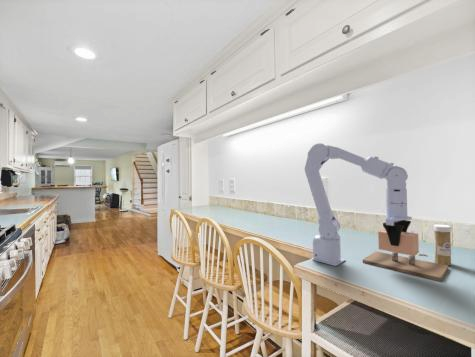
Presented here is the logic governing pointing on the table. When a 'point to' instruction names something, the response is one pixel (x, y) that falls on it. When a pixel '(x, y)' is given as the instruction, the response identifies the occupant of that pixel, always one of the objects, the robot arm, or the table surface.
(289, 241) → the table surface
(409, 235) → the block
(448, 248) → the sprinkles bottle
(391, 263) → the stub board
